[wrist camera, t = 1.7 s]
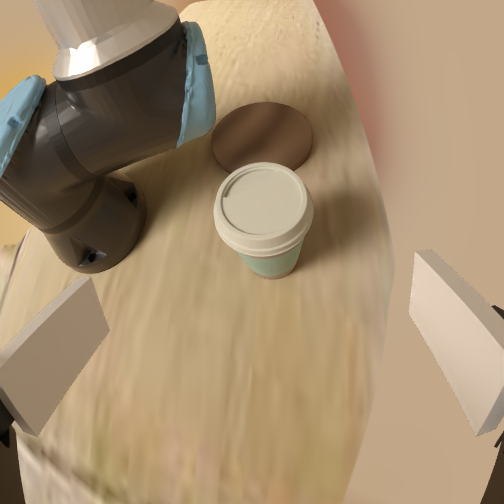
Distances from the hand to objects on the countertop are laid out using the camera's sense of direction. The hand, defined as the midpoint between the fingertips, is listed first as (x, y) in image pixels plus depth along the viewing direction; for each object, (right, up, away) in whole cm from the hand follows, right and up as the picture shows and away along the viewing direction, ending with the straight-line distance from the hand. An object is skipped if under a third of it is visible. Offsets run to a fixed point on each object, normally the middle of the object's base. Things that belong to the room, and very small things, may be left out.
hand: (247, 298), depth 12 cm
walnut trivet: (+2, +17, +31) cm, 36 cm away
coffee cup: (+2, +1, +24) cm, 25 cm away
